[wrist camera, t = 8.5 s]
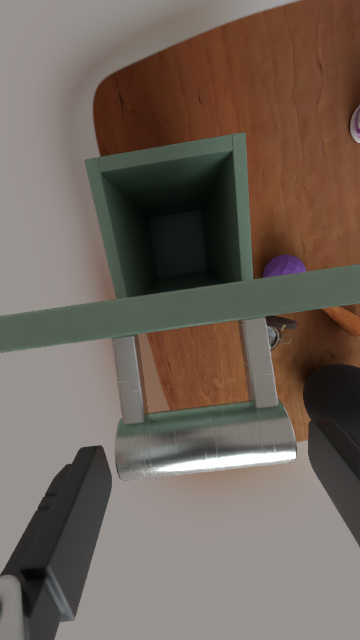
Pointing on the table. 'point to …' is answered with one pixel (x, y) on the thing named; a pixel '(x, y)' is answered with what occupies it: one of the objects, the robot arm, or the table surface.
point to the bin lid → (206, 421)
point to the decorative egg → (334, 396)
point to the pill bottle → (355, 125)
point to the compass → (277, 329)
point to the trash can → (174, 215)
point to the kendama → (340, 315)
